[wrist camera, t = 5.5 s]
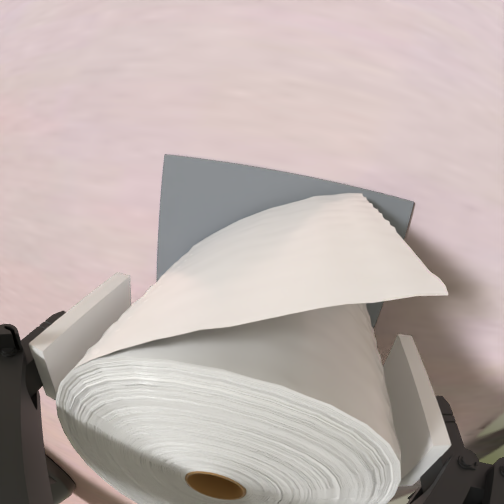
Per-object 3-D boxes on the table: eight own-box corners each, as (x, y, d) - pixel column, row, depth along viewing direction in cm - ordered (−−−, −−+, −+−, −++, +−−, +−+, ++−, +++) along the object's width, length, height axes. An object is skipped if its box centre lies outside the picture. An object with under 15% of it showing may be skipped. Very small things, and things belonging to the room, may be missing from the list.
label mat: (281, 502, 24) (281, 504, 24) (167, 475, 25) (166, 476, 25) (413, 201, 13) (414, 202, 13) (165, 154, 14) (163, 154, 14)
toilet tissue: (187, 384, 19) (123, 509, 10) (150, 199, 15) (-13, 280, 6) (354, 393, 17) (361, 543, 8) (372, 190, 13) (483, 291, 4)
